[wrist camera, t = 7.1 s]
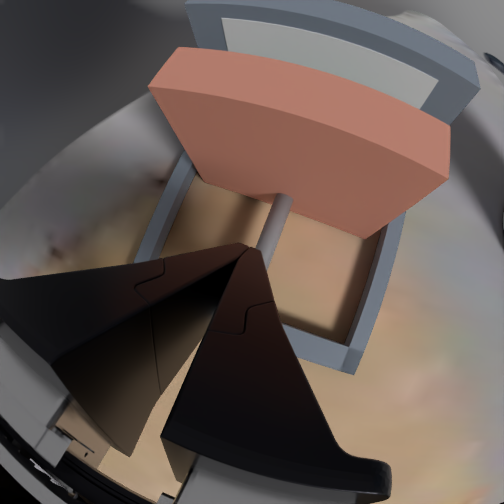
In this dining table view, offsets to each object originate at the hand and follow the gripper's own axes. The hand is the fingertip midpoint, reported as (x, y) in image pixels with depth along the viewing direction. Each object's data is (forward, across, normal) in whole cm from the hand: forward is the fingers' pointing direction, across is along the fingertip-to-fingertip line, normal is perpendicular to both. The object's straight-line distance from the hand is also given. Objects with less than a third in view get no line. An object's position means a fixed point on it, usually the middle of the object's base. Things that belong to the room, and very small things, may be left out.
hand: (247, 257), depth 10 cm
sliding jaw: (+7, 0, -3) cm, 8 cm away
